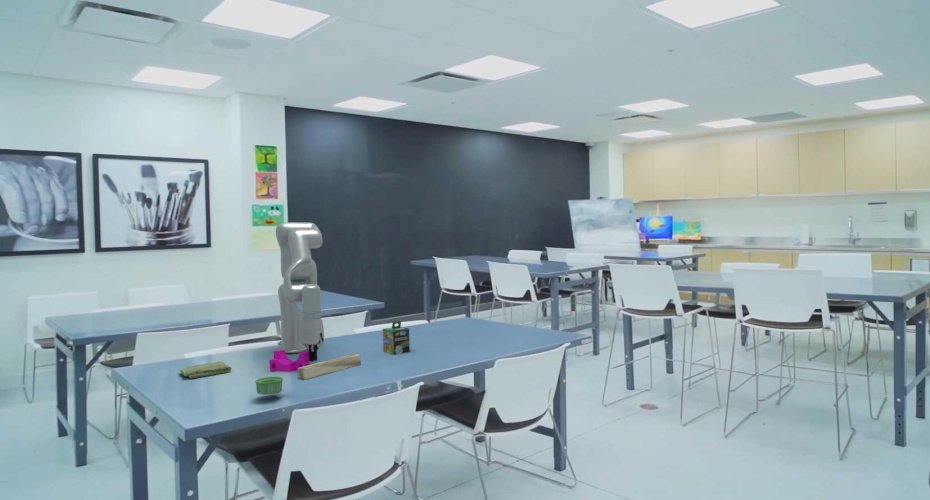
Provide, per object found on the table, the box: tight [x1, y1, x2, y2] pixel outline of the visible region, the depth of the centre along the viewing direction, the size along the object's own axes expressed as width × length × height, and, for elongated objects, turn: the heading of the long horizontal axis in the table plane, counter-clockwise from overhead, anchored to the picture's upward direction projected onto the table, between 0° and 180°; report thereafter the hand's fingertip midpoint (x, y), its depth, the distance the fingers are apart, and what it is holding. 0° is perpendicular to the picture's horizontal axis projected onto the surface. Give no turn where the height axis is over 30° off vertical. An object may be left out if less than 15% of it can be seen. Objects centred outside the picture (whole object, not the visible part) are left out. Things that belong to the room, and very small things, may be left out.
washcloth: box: [179, 360, 232, 379], centre depth 229 cm, size 13×18×3 cm
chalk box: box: [382, 320, 411, 356], centre depth 261 cm, size 9×9×15 cm
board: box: [297, 353, 362, 380], centre depth 226 cm, size 4×30×4 cm, turn 148°
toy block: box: [269, 349, 311, 373], centre depth 230 cm, size 15×6×8 cm, turn 67°
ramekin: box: [254, 375, 284, 396], centre depth 196 cm, size 9×9×4 cm
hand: (312, 360), depth 232 cm, fingers closed
